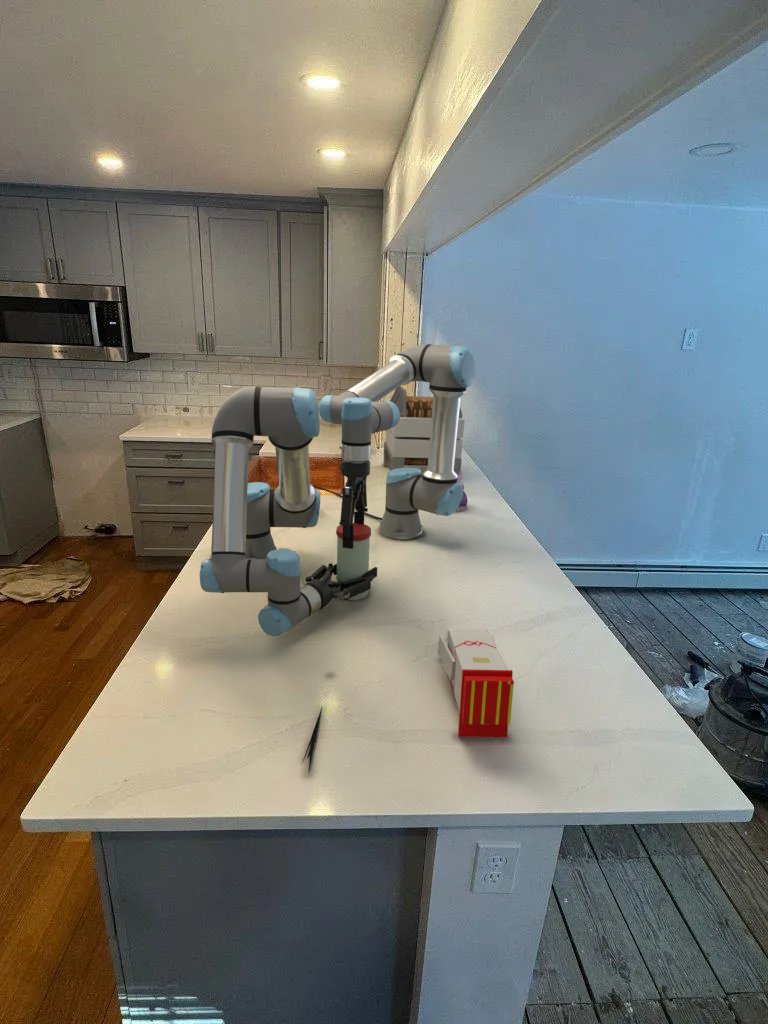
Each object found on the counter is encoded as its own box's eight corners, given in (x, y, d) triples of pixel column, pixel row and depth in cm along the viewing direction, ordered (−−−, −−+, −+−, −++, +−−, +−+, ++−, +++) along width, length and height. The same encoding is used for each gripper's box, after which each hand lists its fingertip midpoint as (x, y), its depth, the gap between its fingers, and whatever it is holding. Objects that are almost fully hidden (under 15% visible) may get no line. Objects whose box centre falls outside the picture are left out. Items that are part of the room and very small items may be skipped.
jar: (372, 597, 155) (374, 534, 149) (341, 601, 152) (342, 538, 146) (361, 583, 163) (363, 523, 157) (332, 587, 160) (333, 526, 154)
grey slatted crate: (382, 463, 289) (386, 382, 275) (445, 464, 293) (451, 384, 279) (390, 482, 257) (394, 392, 243) (460, 483, 261) (468, 394, 247)
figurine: (454, 513, 222) (457, 476, 217) (439, 505, 230) (442, 470, 225) (473, 510, 226) (477, 474, 221) (459, 503, 234) (462, 468, 229)
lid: (378, 535, 152) (378, 530, 151) (351, 543, 146) (351, 538, 145) (355, 525, 158) (356, 520, 157) (329, 533, 152) (329, 527, 151)
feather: (331, 679, 122) (336, 673, 122) (307, 777, 96) (313, 769, 95) (324, 675, 122) (329, 669, 121) (298, 772, 95) (304, 764, 95)
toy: (488, 613, 130) (523, 677, 101) (484, 667, 133) (517, 744, 104) (435, 612, 130) (455, 676, 101) (432, 666, 133) (451, 743, 103)
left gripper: (278, 599, 148) (331, 569, 166) (345, 624, 137) (394, 589, 155) (278, 573, 145) (331, 545, 163) (346, 597, 135) (395, 564, 153)
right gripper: (354, 449, 156) (352, 525, 163) (327, 468, 136) (326, 554, 143) (380, 451, 154) (377, 528, 162) (357, 472, 134) (354, 558, 142)
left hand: (362, 567), depth 159 cm, fingers closed on jar, 9 cm apart
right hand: (353, 540), depth 152 cm, fingers closed on lid, 9 cm apart
